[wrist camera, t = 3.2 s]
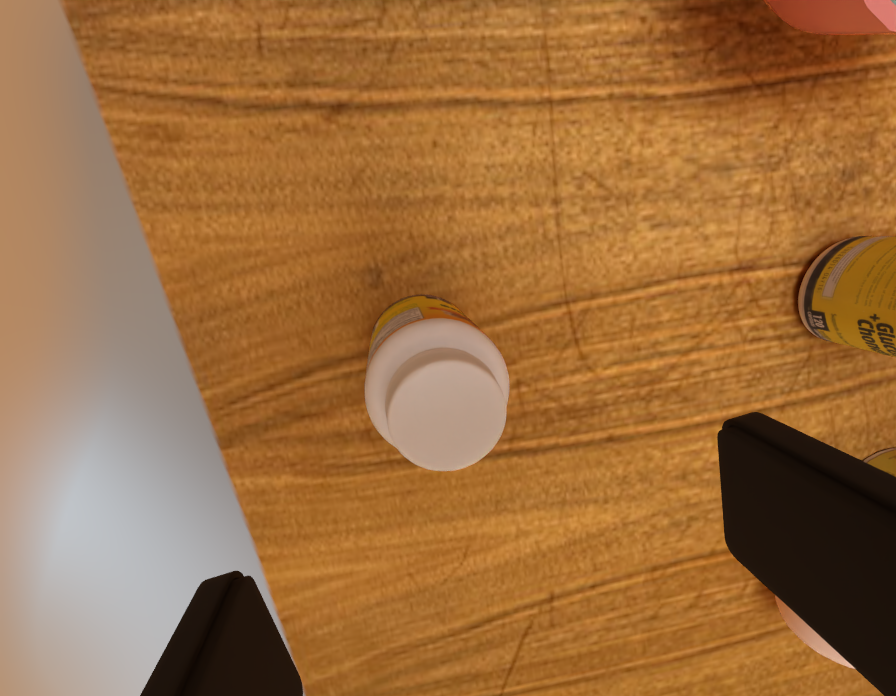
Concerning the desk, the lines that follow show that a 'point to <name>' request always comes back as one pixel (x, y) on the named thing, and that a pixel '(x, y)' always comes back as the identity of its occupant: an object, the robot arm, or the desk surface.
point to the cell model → (837, 16)
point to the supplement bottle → (435, 384)
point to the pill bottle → (853, 294)
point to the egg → (809, 634)
